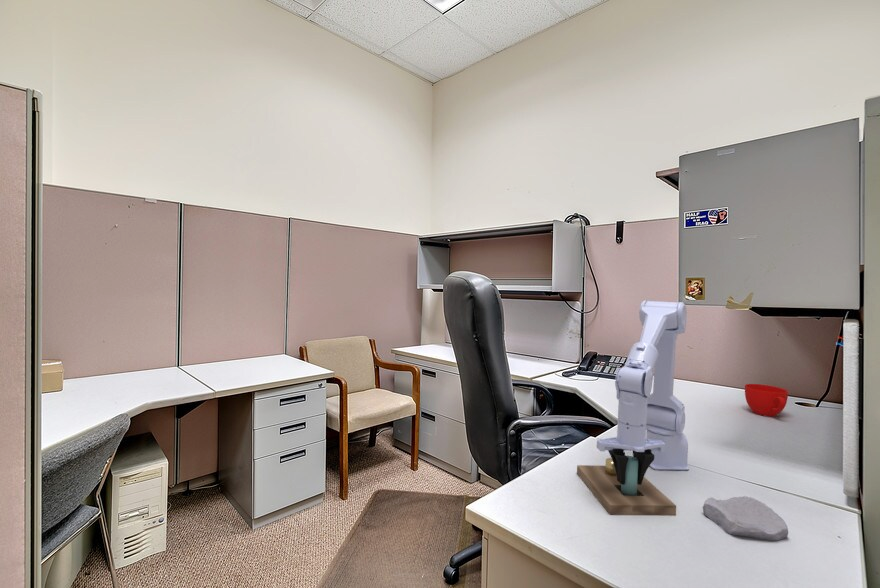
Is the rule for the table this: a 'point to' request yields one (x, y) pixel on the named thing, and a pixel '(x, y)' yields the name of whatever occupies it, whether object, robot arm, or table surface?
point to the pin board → (612, 499)
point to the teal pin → (630, 478)
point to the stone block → (746, 518)
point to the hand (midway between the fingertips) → (629, 482)
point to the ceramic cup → (765, 399)
